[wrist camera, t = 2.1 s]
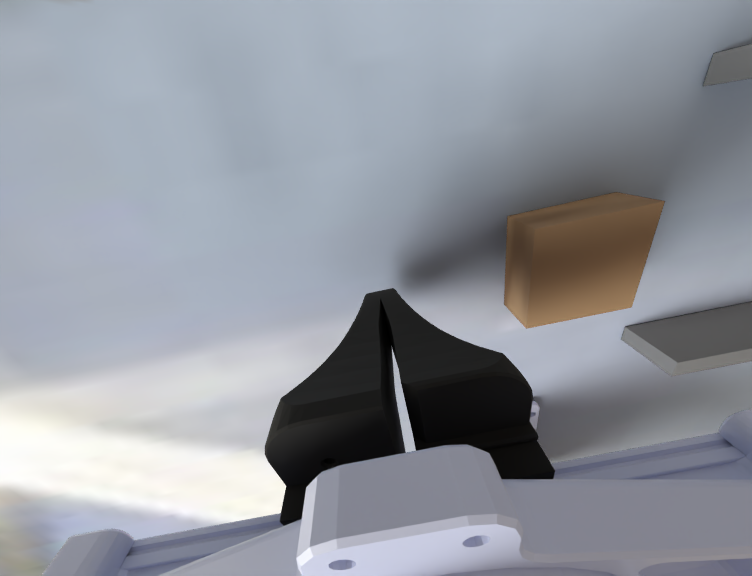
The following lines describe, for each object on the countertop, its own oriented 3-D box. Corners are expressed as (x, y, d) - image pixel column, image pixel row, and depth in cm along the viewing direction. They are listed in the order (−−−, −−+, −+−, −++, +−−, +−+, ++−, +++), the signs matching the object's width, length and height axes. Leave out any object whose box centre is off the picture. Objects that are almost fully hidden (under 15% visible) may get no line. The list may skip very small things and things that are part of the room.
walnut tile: (590, 283, 15) (631, 307, 13) (501, 301, 15) (526, 328, 13) (610, 191, 12) (664, 201, 10) (503, 214, 13) (535, 229, 10)
